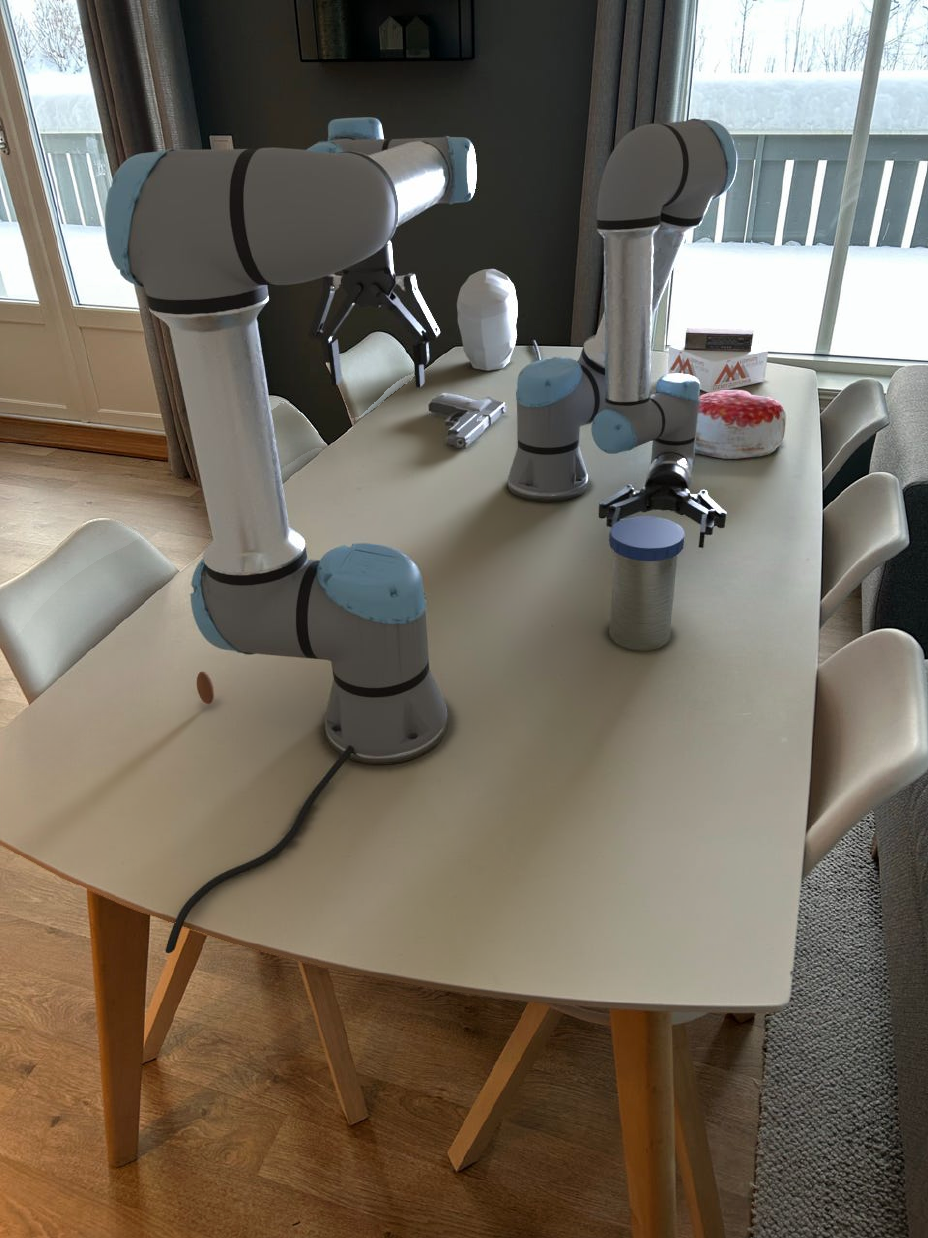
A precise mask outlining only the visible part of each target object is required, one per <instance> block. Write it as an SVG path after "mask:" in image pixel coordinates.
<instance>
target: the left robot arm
mask: <svg viewBox="0 0 928 1238" xmlns="http://www.w3.org/2000/svg"><path fill="white" fill-rule="evenodd" d="M327 125H328V126H327V133H328V134H327V135H328V137H327V141H325V140H320V141H318V142H317V143H314V144H313V145H312V146H310V147H308V148H307V149H299V148H287V147H285V148H284V147H261V148H225V149H224V148H223V149H220V148H219V149H215V148H214V149H179V148H178V149H176V148H175V149H174V148H173V149H172V148H167V149H165V150H158V151H151V152H143V153H138V154H135V155H133V156H130V157H129V158H127V159H126V160H125V161H124V162H123V163H122V164H121V165H119V167H118V168H117V170H116V172H115V174H113V175H114V176H113V177H112V182H111V186H110V187H109V188H108V192H107V197H106V201H105V209H104V228H105V238H106V245H107V248H108V251H109V255H110V258H111V261H112V262H113V265H114V266H115V268H116V269H117V270H119V274H120V276H121V277H122V278H123V279H124V280H125V281H127V282H129V283H130V284H132V285H134V286H135V287H139V288H144V293H145V296H146V302H147V305H148V306H147V307H148V308H149V312H150V313H151V314H153V315H154V317H157V318H158V319H160V320H161V321H162V322H164V323H165V324H166V326H167V327H168V328H169V334H170V338H171V342H172V347H173V352H174V358H175V362H176V368H177V371H178V377H179V380H180V385H181V391H182V396H183V399H184V405H185V411H186V416H187V419H188V424H189V425H188V426H189V430H190V435H191V439H192V444H193V449H194V453H195V458H196V462H197V468H198V473H199V477H200V483H201V488H202V493H203V497H204V503H205V506H206V507H205V508H206V511H207V515H208V521H209V526H210V530H211V535H212V540H211V541H210V542H209V543H208V545H207V546H206V547H205V549H204V550H203V552H202V559H201V560H200V561H199V562H198V564H197V565H196V567H195V569H194V571H193V573H192V578H191V584H190V585H191V587H192V589H193V592H192V593H190V606H191V610H192V611H191V612H192V615H193V618H194V622H195V624H196V626H197V629H198V630H199V632H200V634H201V635H202V636H203V638H204V639H205V640H206V641H207V642H208V643H209V644H211V645H212V646H214V647H215V648H218V649H220V650H225V651H231V652H236V653H239V654H244V655H249V656H251V655H268V656H277V657H278V656H280V657H290V658H299V659H300V658H302V659H314V660H322V661H329V662H330V663H331V664H330V665H331V671H332V677H333V681H332V685H331V689H330V692H329V697H328V701H327V705H326V710H325V715H324V727H325V728H324V729H325V733H326V738H327V741H328V743H329V745H330V746H331V748H333V749H334V750H335V751H336V752H337V753H338V754H339V755H340V756H339V757H338V758H337V760H336V761H335V762H334V764H332V766H331V767H330V769H328V771H327V772H326V774H324V776H323V777H322V778H321V779H320V781H319V782H318V783H317V784H316V786H315V787H314V789H313V790H312V791H311V793H309V795H308V797H307V799H306V800H305V802H304V803H303V805H302V807H301V808H300V810H299V812H298V814H297V816H296V818H295V820H294V821H293V824H292V825H291V827H290V829H289V830H288V832H287V833H286V834H285V835H284V837H283V838H282V839H281V840H280V841H279V842H277V844H276V845H275V846H274V847H272V848H271V849H270V850H268V851H267V852H265V853H263V854H262V855H260V856H259V857H256V858H254V859H252V860H249V861H247V862H245V863H243V864H240V865H238V866H234V867H233V868H231V869H228V870H226V871H224V872H222V873H220V874H218V875H217V876H215V877H213V878H212V879H210V880H208V881H207V882H205V884H204V885H202V886H201V887H200V888H199V889H197V891H195V892H194V893H193V894H192V895H191V897H189V899H188V900H187V901H186V902H185V903H184V904H183V906H182V907H181V909H180V910H179V912H178V914H177V916H176V918H175V920H174V923H173V925H172V927H171V931H170V934H169V936H168V940H167V943H166V947H165V953H166V954H171V953H173V952H174V951H175V949H176V947H177V943H178V940H179V937H180V933H181V932H182V929H183V926H184V924H185V921H186V919H187V917H188V915H189V914H190V912H191V911H192V910H193V908H194V907H195V906H196V905H197V904H198V902H200V901H201V900H202V898H204V897H205V896H206V895H207V894H208V893H209V892H211V891H212V890H213V889H214V888H216V887H217V886H219V885H221V884H222V883H224V882H226V881H229V880H230V879H232V878H234V877H237V876H240V875H242V874H244V873H246V872H249V871H251V870H253V869H256V868H258V867H260V866H261V865H263V864H265V863H267V862H269V861H271V860H272V859H274V858H275V857H276V856H277V855H279V854H281V852H283V850H284V849H286V848H287V847H288V845H289V844H291V842H292V841H293V840H294V838H295V836H296V835H297V834H298V832H299V830H300V829H301V827H302V825H303V823H304V821H305V819H306V817H307V816H308V813H309V811H310V809H311V808H312V806H313V805H314V803H315V802H316V800H317V798H318V797H319V796H320V794H321V793H322V792H323V791H324V789H325V788H326V787H327V785H329V783H330V782H331V780H332V779H333V778H334V777H335V775H336V774H337V773H338V771H340V769H341V768H342V766H343V765H344V764H345V763H346V761H347V760H348V759H349V760H352V761H355V762H358V763H363V764H368V765H390V764H391V765H392V764H398V763H402V762H406V761H409V760H412V759H415V758H417V757H420V756H422V755H424V754H426V753H427V752H429V751H430V750H432V749H433V748H434V747H436V746H437V745H438V743H440V742H441V740H442V739H443V738H444V736H445V734H446V732H447V729H448V725H449V720H448V719H449V717H448V709H447V705H446V701H445V697H444V696H443V694H442V691H441V689H440V688H439V686H438V683H437V682H436V679H435V678H434V675H433V673H432V671H431V669H430V659H429V657H430V656H429V655H430V654H429V643H428V626H427V625H428V624H427V613H426V612H427V611H426V610H427V597H426V593H425V591H424V585H423V577H422V573H421V571H420V569H419V567H418V565H417V564H416V563H415V562H414V561H413V560H412V559H411V558H410V557H409V556H408V555H407V554H406V553H403V552H401V551H400V550H397V549H396V548H392V547H390V546H386V545H382V544H377V543H364V542H360V543H358V542H357V543H352V544H351V545H350V546H347V545H340V546H338V547H337V546H336V547H334V548H333V549H330V550H329V551H327V552H326V553H325V554H324V555H322V557H321V558H320V559H319V560H318V559H309V556H308V553H307V547H306V546H307V545H306V541H305V539H304V536H303V535H302V534H301V533H299V532H297V531H296V530H294V529H293V528H292V527H290V521H289V516H288V509H287V504H286V496H285V491H284V490H285V489H284V485H283V479H282V472H281V466H280V460H279V451H278V447H277V440H276V434H275V426H274V421H273V414H272V409H271V402H270V396H269V389H268V382H267V377H266V370H265V369H266V368H265V363H264V357H263V351H262V344H261V337H260V331H259V323H258V319H257V318H258V316H259V314H260V312H261V311H262V310H263V308H264V307H265V306H266V304H267V303H268V302H269V301H270V297H269V289H268V286H288V285H295V284H302V283H303V284H304V283H307V282H312V281H315V280H318V279H321V278H322V280H321V283H322V284H321V285H322V291H321V296H320V298H319V301H318V304H317V306H316V308H315V312H314V316H313V318H312V321H311V324H310V327H309V330H308V333H307V335H308V337H309V338H310V339H315V340H317V341H319V342H320V343H321V349H322V350H321V351H322V358H323V361H324V363H325V364H329V370H330V380H331V385H332V386H335V387H336V386H338V385H339V384H340V383H341V382H342V381H343V377H342V367H341V366H342V365H341V357H340V349H339V340H338V338H333V337H334V335H335V334H336V333H337V331H338V329H339V328H340V327H341V325H342V324H343V322H344V321H345V320H346V318H347V317H348V315H349V313H350V312H351V311H352V309H353V308H354V307H355V305H357V306H359V308H366V307H372V308H380V307H382V306H384V307H385V308H386V309H387V310H388V311H390V312H391V313H392V315H393V316H394V317H395V318H396V319H397V320H398V322H399V323H400V324H401V325H402V326H403V327H404V328H405V329H406V331H407V332H408V333H409V334H410V336H412V338H413V339H414V340H415V342H414V343H413V344H412V353H413V354H412V355H413V367H414V368H413V369H414V383H415V388H416V389H417V388H418V389H419V388H421V387H422V386H423V385H424V384H425V383H426V382H425V367H424V366H426V365H428V363H429V361H430V348H429V347H430V345H429V344H430V343H429V342H431V341H435V340H437V338H438V337H439V336H440V334H441V331H440V328H439V326H438V325H437V323H436V321H435V319H434V317H433V315H432V313H431V311H430V309H429V307H428V306H427V304H426V301H425V300H424V298H423V295H422V294H421V292H420V290H419V288H418V283H417V278H416V274H415V273H414V272H409V273H408V274H404V275H396V273H395V270H394V258H393V245H392V241H391V240H392V238H393V236H394V234H395V232H396V230H397V228H398V227H400V226H401V225H402V224H404V223H406V222H408V221H409V220H412V218H414V217H416V216H418V215H419V214H421V213H423V212H424V211H426V210H427V209H429V208H431V207H433V206H434V205H436V204H448V205H453V204H459V203H467V202H469V201H471V200H472V198H473V196H474V194H475V191H476V190H475V189H476V184H477V161H476V160H477V159H476V152H475V148H474V145H473V142H471V140H470V139H469V138H467V137H459V136H458V137H457V136H449V135H444V136H442V137H441V136H439V137H414V138H413V137H412V138H410V137H409V138H384V132H383V126H382V123H381V121H380V119H378V118H377V117H370V116H369V117H364V116H363V117H345V118H344V117H343V118H335V119H331V120H330V121H329V123H328V124H327ZM341 271H342V275H336V274H335V273H337V272H341ZM340 285H341V287H342V288H343V290H344V291H345V292H346V294H347V296H346V297H345V299H344V300H343V302H342V303H341V306H340V307H338V310H337V311H336V313H335V314H334V316H333V317H332V319H331V320H330V321H329V323H328V324H327V326H326V327H325V329H323V328H324V324H325V321H326V319H327V316H328V313H329V310H330V308H331V304H332V301H333V299H334V295H335V292H336V291H337V290H338V289H339V288H340ZM397 286H399V288H400V289H401V290H402V291H403V292H405V294H406V297H407V298H408V301H409V303H410V305H411V307H412V309H413V310H414V312H415V315H416V316H417V318H418V320H419V321H417V319H416V318H415V317H414V316H413V314H411V312H410V311H409V310H408V309H407V307H406V306H404V304H403V303H402V302H401V299H400V298H399V296H398V295H397V294H396V293H395V292H394V291H395V289H396V287H397ZM419 322H420V323H421V324H420V323H419ZM332 338H333V339H332ZM175 922H176V923H175Z"/></svg>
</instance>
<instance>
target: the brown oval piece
mask: <svg viewBox="0 0 928 1238" xmlns="http://www.w3.org/2000/svg"><path fill="white" fill-rule="evenodd" d="M196 689H197V694H198V695H199V698H200V700H201V701H202V702H203V703H204V704H206V705H210V704H211V703H212V702H213V701H214V699H215V688H214V683H213V680H212V679H211V677H210V675H209V674H208V673H207V672H206V671H200V672H199V673H198V674H197V677H196Z"/></svg>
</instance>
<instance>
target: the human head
mask: <svg viewBox="0 0 928 1238" xmlns="http://www.w3.org/2000/svg"><path fill="white" fill-rule="evenodd" d="M456 310H457V325H458V329H459V332H460V336H461V342H462V348H463V352H464V354H465V356H466V358H467V359H468V360H469V362H470V364H471V366H472V368H473V369H477V370H482V371H487V372H489V371H495V370H500V369H504V368H505V367H506V365H508V364H509V363H510V362H511V356H512V354H513V351H514V348H515V346H516V343H517V342H516V341H517V336H518V334H517V319H518V299H517V294H516V288H515V285H514V283H513V282H512V281H511V279H510V278H509V276H508V275H507V274H505V273H503V272H501V271H500V270H497V269H495V268H488V269H487V268H486V269H482V270H479V271H477V272H475V273H473V274H471V275H469V276H468V277H467V279H466V280H465V282H464V283H463V284H462V286H461V287H460V290H459V293H458V295H457V301H456Z"/></svg>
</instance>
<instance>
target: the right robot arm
mask: <svg viewBox="0 0 928 1238" xmlns="http://www.w3.org/2000/svg"><path fill="white" fill-rule="evenodd" d="M737 170H738V152H737V150H736V148H735V142H734V139H733V136H732V135H731V133H730V132H729V131H728V129H727V128H726V127H725V126H724V125H723V124H721V123H719V122H718V121H715V120H712V119H701V118H690V119H687V120H682V121H672V122H663V123H648V124H643V125H641V126H638V127H636V128H634V129H632V130H630V131H629V132H628V133H627V134H626V135H624V136H623V137H622V138H621V139H620V140H619V142H618V143H617V145H616V146H615V147H614V149H613V150H612V152H611V154H610V156H609V158H608V160H607V162H606V165H605V167H604V170H603V174H602V178H601V181H600V185H599V191H598V196H597V197H598V198H597V202H596V203H597V205H596V231H597V232H598V233H599V235H601V236H602V238H603V281H604V282H603V290H604V292H603V294H604V295H603V296H604V300H603V301H604V302H603V304H604V306H603V307H604V310H603V311H604V312H603V314H602V317H601V320H600V322H599V326H598V329H597V331H596V334H595V335H591V336H589V337H588V338H587V339H586V340H585V341H584V343H583V346H582V349H581V352H580V355H579V358H578V360H576V359H573V358H571V357H566V356H565V357H564V356H554V357H553V356H552V358H551V357H550V358H547V357H545V358H541V353H540V350H539V346H538V344H537V342H536V340H535V339H533V340H532V345H533V347H534V350H535V351H534V352H535V353H536V359H537V360H535V361H532V362H530V363H529V364H527V365H525V366H524V367H523V368H522V369H521V370H520V372H519V373H518V376H517V385H516V386H517V388H516V392H515V397H516V421H517V425H516V426H517V427H516V429H517V430H516V431H517V446H516V447H517V448H516V451H515V455H514V458H513V460H512V464H511V466H510V470H509V474H508V477H507V478H508V490H509V491H510V492H511V493H512V494H514V495H515V496H517V497H519V498H522V499H525V500H528V501H529V500H531V501H534V502H535V501H537V502H559V501H566V500H570V499H573V498H576V497H578V496H580V495H582V494H583V493H585V492H586V491H587V489H588V487H589V485H588V484H589V475H588V472H587V468H586V465H585V462H584V459H583V456H582V452H581V448H580V435H581V434H580V431H581V429H580V428H581V427H583V426H586V425H589V424H591V428H590V429H591V436H592V439H593V442H594V444H595V446H597V447H598V449H599V450H600V451H602V452H604V453H606V454H610V455H615V454H619V453H622V452H623V453H624V452H627V451H631V450H634V448H636V447H639V446H641V445H644V444H647V443H649V442H652V446H651V459H650V465H649V468H648V471H647V474H646V478H645V483H644V486H643V487H642V488H641V489H635V488H633V485H632V484H625V485H624V487H623V489H621V490H619V491H618V492H616V493H614V494H613V495H611V496H608V498H606V499H604V500H602V501H600V502H599V503H598V518H599V519H601V520H603V519H605V520H606V521H605V525H606V527H607V528H611V527H612V525H613V524H615V523H616V522H618V521H620V520H622V519H625V518H628V517H630V516H632V515H635V514H638V513H640V512H641V513H643V514H645V513H648V512H650V511H653V510H654V511H662V512H663V511H666V512H674V513H676V514H677V515H679V516H680V517H682V516H685V517H687V518H689V519H690V520H691V521H694V522H695V523H697V524H698V525H700V527H699V537H698V538H699V539H698V549H699V548H700V549H704V547H705V537H706V536H712V535H713V533H714V527H716V528H718V529H724V528H725V527H726V521H727V520H726V519H727V511H725V510H724V509H723V508H722V507H721V506H720V505H719V504H718V503H717V502H716V501H715V500H713V499H712V498H711V497H710V496H709V493H708V491H707V490H705V489H701V490H699V492H698V493H697V494H696V493H691V491H690V486H691V480H692V472H693V466H694V465H695V457H696V453H695V451H694V450H695V440H696V438H695V436H696V427H697V418H698V409H699V403H700V400H699V397H700V391H701V389H700V383H699V381H698V379H697V378H695V377H693V376H690V375H686V374H667V373H666V374H664V375H662V376H660V377H659V378H658V380H657V381H656V387H655V388H654V390H655V393H653V394H651V382H652V381H651V377H652V376H651V372H652V333H653V332H652V331H653V330H652V329H653V328H652V325H653V324H652V323H653V319H654V317H655V315H656V312H657V309H658V306H659V304H660V303H661V299H662V297H663V294H664V292H665V290H666V287H667V285H668V282H669V280H670V278H671V275H672V271H673V270H674V267H675V265H676V262H677V260H678V258H679V255H680V252H681V250H682V248H683V246H684V242H685V240H686V237H687V235H688V233H689V231H690V230H692V229H696V228H697V227H699V226H700V225H701V224H702V222H703V220H704V218H705V216H706V213H707V211H708V208H709V206H710V203H711V201H715V200H716V199H719V198H721V196H723V195H724V194H725V193H726V192H727V191H728V190H729V189H730V188H731V186H732V184H733V182H734V180H735V178H736V174H737Z"/></svg>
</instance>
